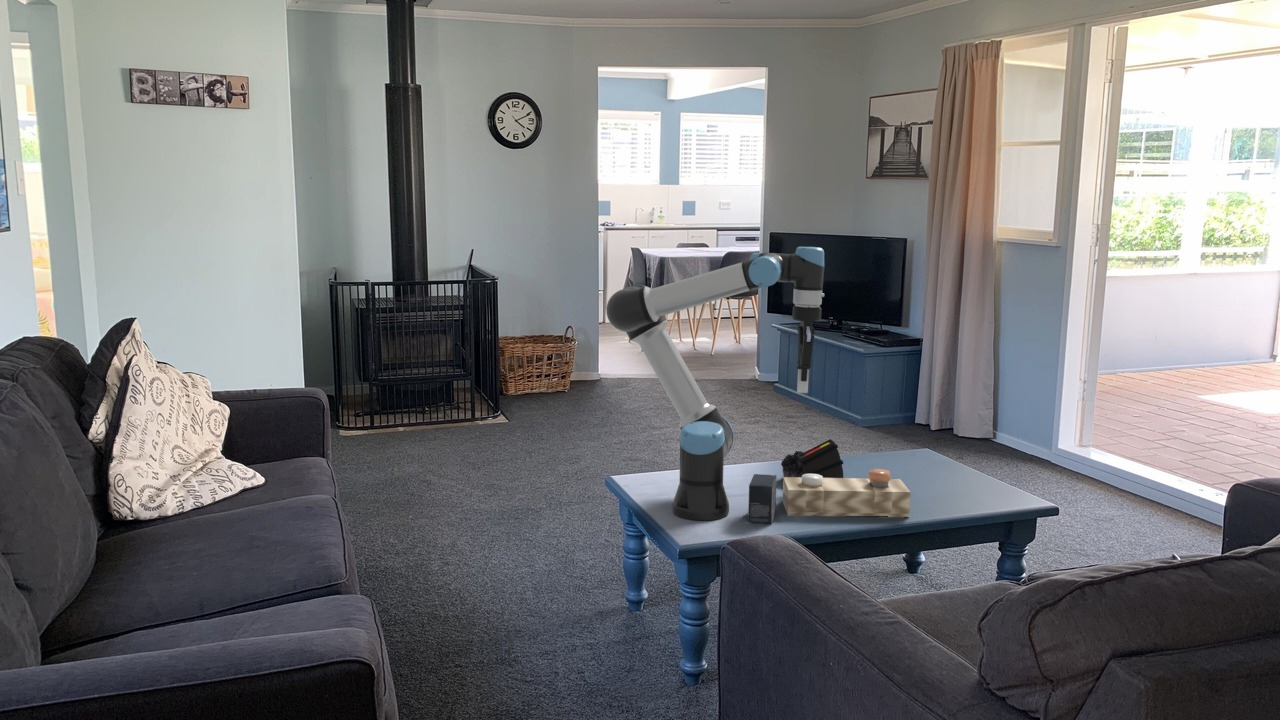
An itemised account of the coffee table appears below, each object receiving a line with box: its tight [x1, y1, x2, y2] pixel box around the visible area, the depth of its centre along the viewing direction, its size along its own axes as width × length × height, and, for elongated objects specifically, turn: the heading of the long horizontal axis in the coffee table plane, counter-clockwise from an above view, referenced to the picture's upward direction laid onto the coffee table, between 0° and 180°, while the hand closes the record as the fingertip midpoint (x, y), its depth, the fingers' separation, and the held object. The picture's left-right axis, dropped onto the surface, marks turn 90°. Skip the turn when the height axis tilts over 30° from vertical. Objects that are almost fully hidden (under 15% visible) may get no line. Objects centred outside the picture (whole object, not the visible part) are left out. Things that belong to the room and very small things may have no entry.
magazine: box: [798, 438, 845, 478], centre depth 278 cm, size 4×13×15 cm, turn 99°
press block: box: [782, 476, 912, 518], centre depth 262 cm, size 32×12×7 cm, turn 88°
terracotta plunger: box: [868, 468, 891, 488], centre depth 261 cm, size 6×6×8 cm
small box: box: [748, 473, 777, 526], centre depth 255 cm, size 11×6×10 cm, turn 166°
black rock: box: [780, 450, 805, 477], centre depth 289 cm, size 13×14×10 cm
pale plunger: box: [801, 474, 823, 487], centre depth 262 cm, size 6×6×8 cm
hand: (802, 392), depth 262 cm, fingers closed
